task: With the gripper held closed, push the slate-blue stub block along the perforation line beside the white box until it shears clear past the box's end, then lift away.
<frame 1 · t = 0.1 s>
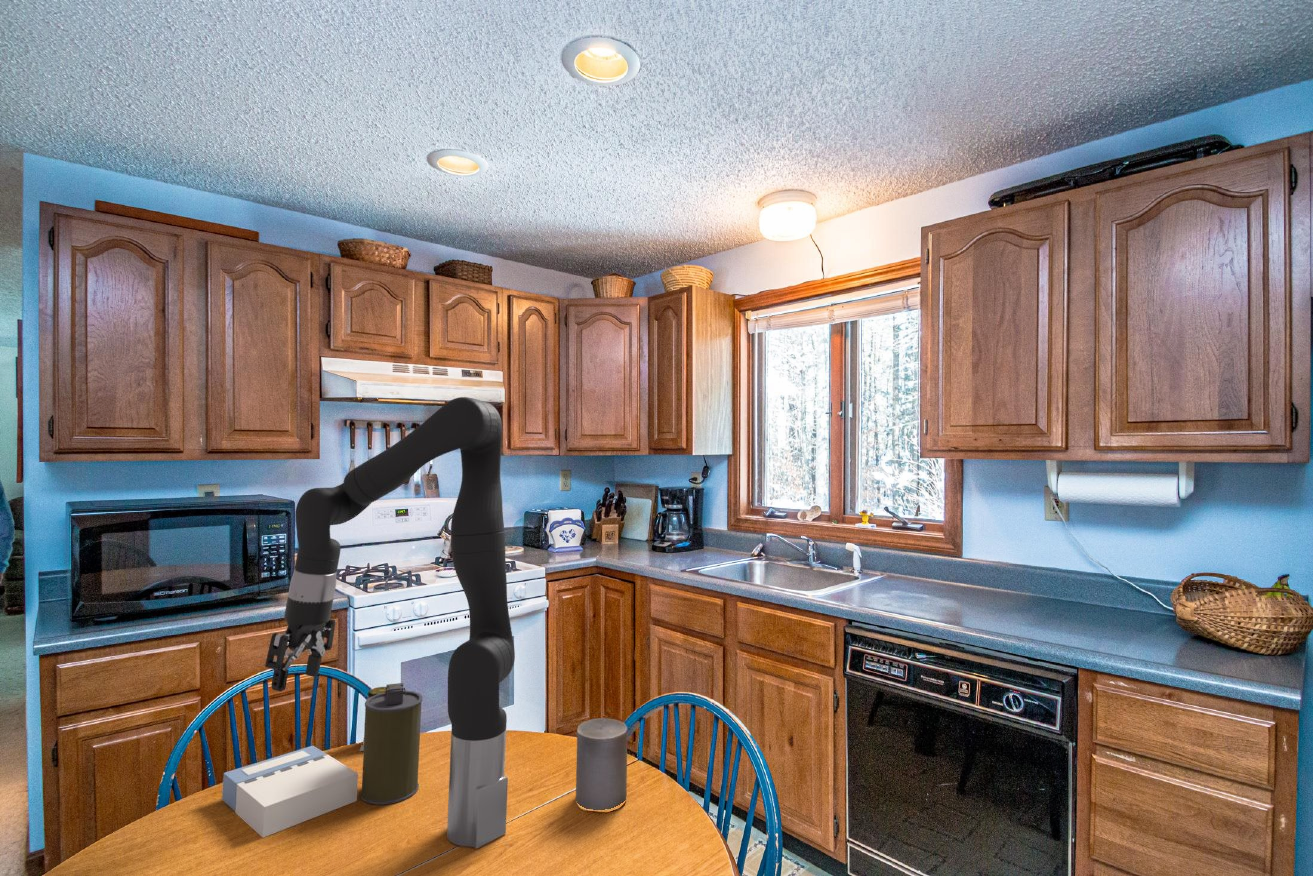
hand: (295, 682, 119), 22 cm above the table, tool pointing down, fingers open, 8 cm apart
pillar candle: (600, 802, 123), on the table
white box: (297, 806, 118), on the table
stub: (276, 775, 124), point 3 cm above the table, slide at 0.0 cm
condiment: (379, 743, 146), on the table
canister: (389, 791, 125), on the table
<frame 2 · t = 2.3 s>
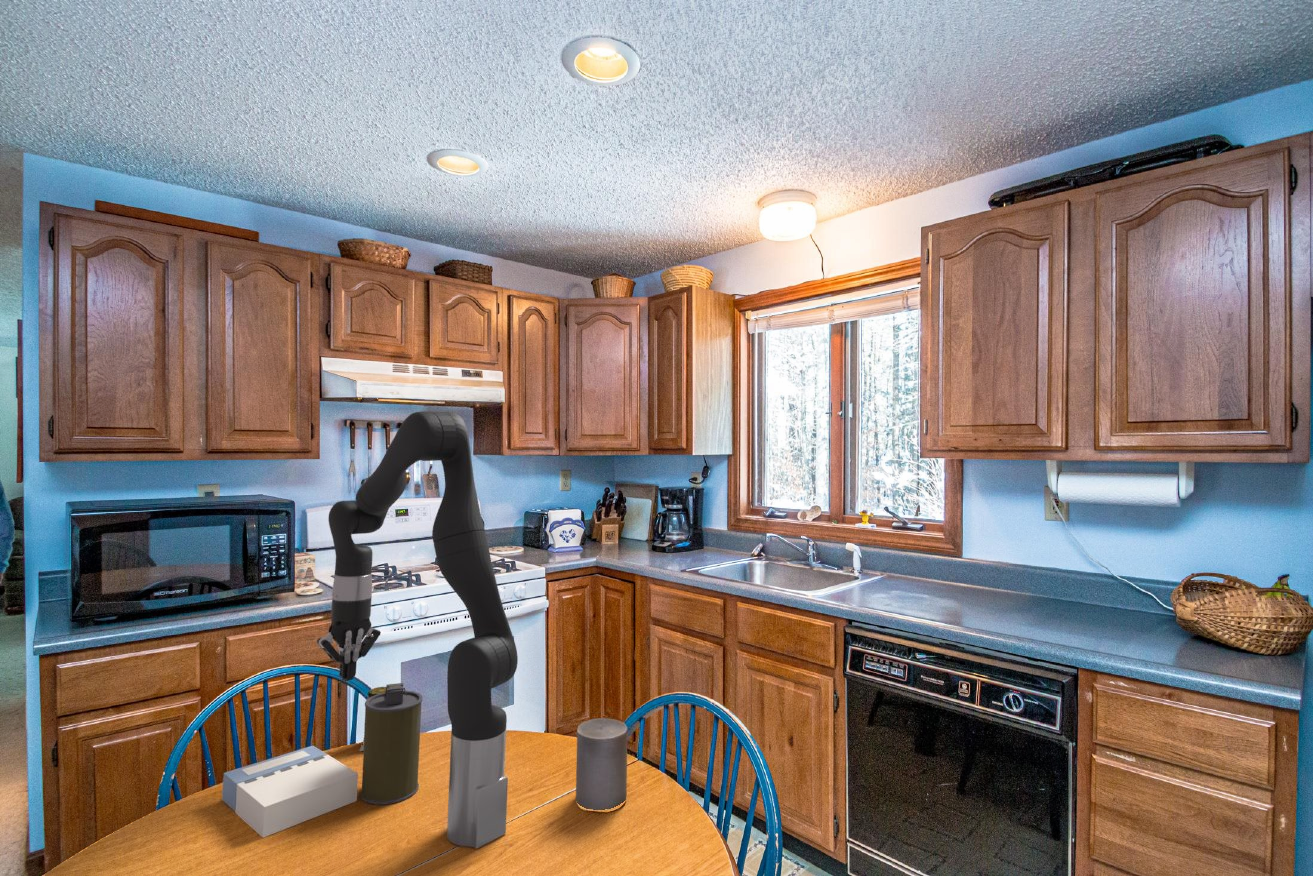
hand: (347, 679, 135), 18 cm above the table, tool pointing down, fingers closed
nothing on the table moved.
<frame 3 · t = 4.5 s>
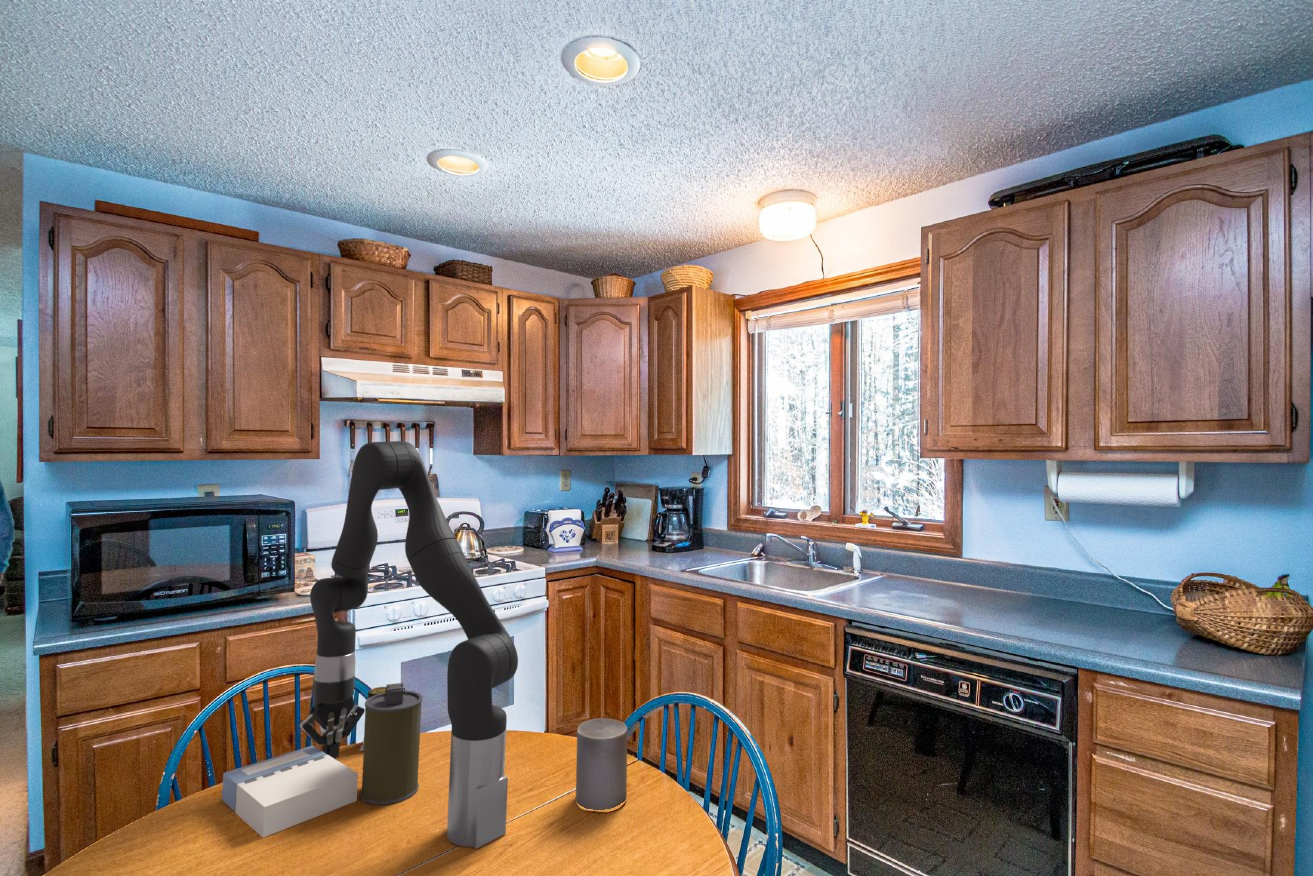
hand: (330, 761, 132), 2 cm above the table, tool pointing down, fingers closed
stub: (276, 775, 124), point 3 cm above the table, slide at 0.1 cm, touching gripper
everything else where it was.
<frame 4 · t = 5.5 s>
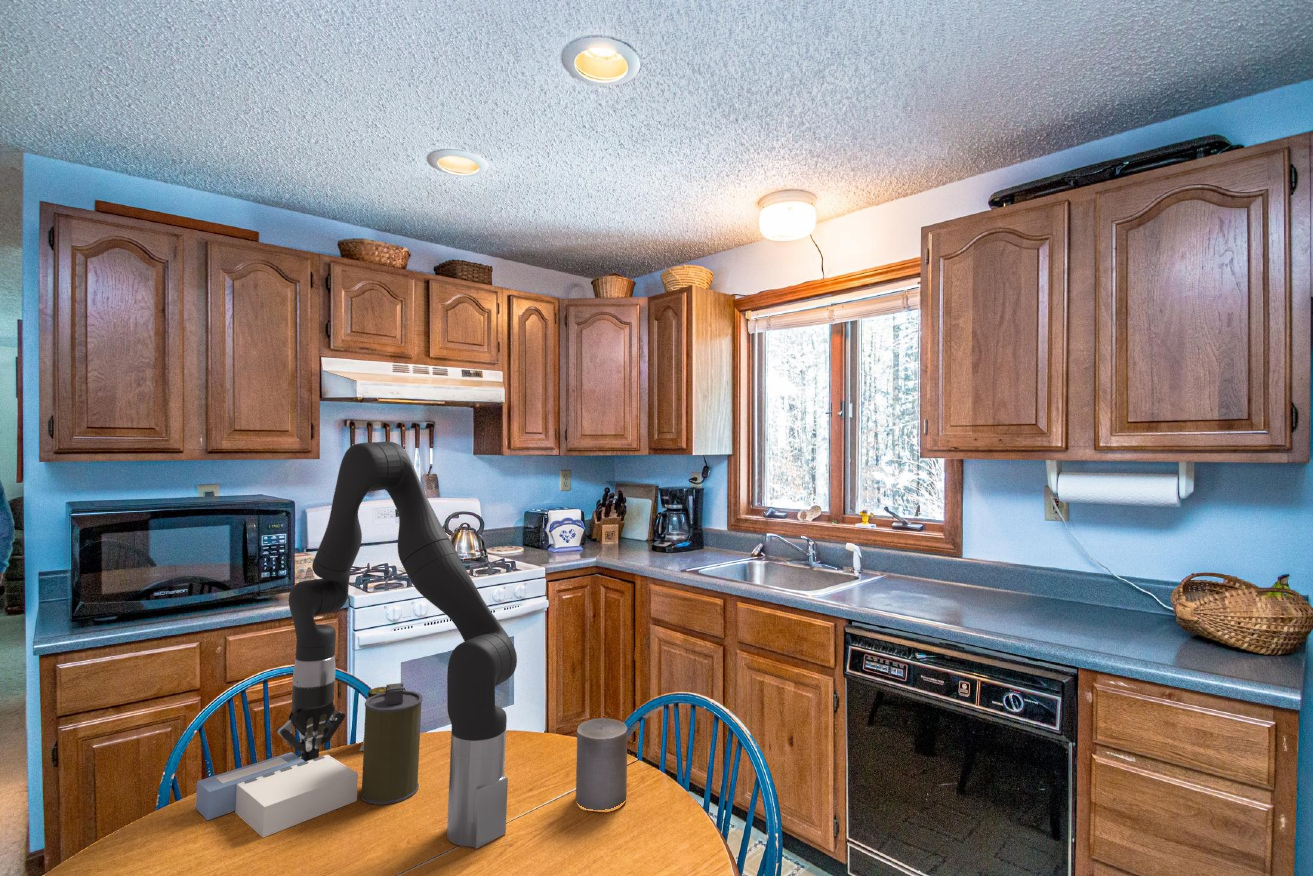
hand: (309, 767, 129), 2 cm above the table, tool pointing down, fingers closed
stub: (252, 783, 121), point 3 cm above the table, slide at 4.2 cm, touching gripper
everything else where it was.
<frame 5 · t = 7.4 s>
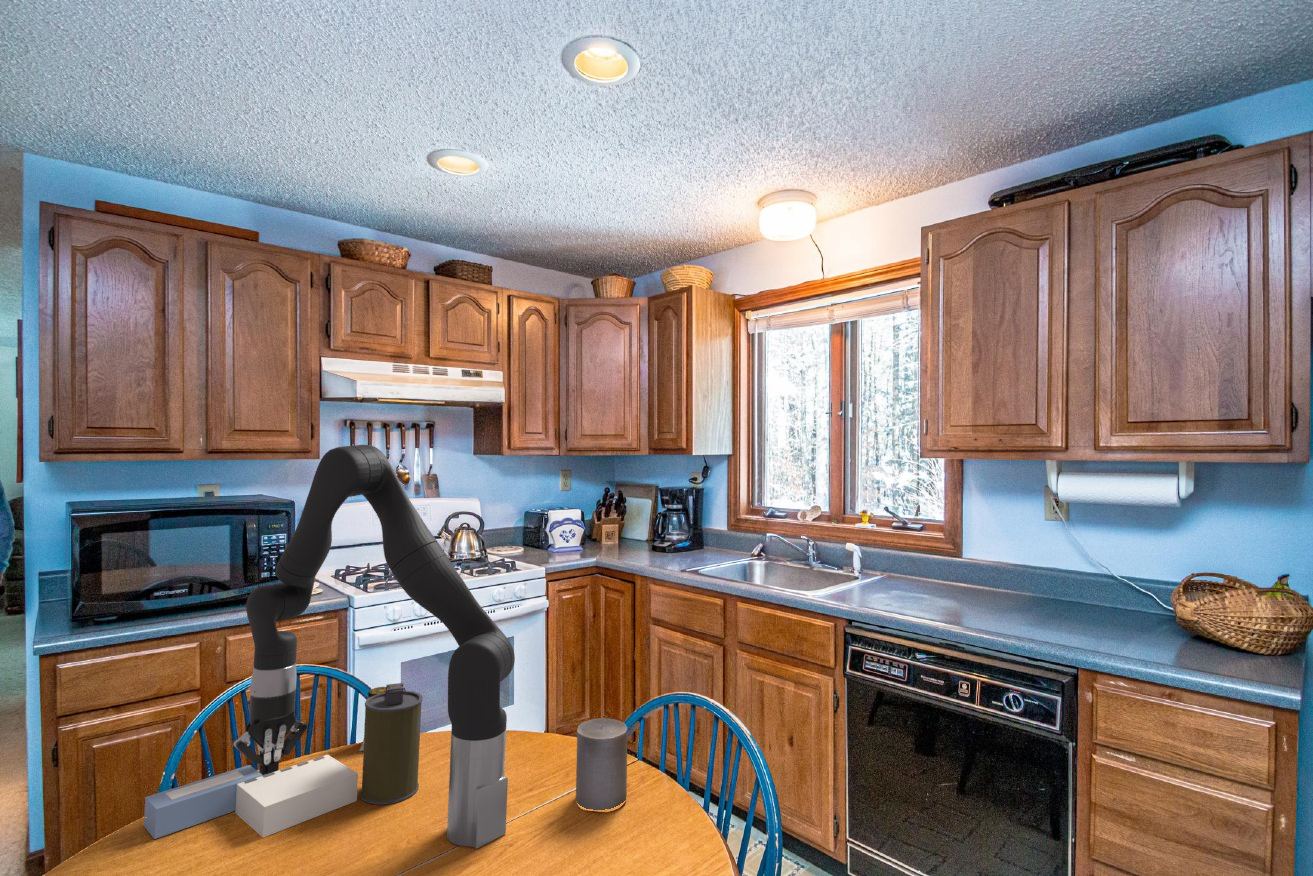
hand: (268, 781, 123), 2 cm above the table, tool pointing down, fingers closed
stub: (205, 799, 115), point 3 cm above the table, slide at 11.7 cm, touching gripper
everything else where it was.
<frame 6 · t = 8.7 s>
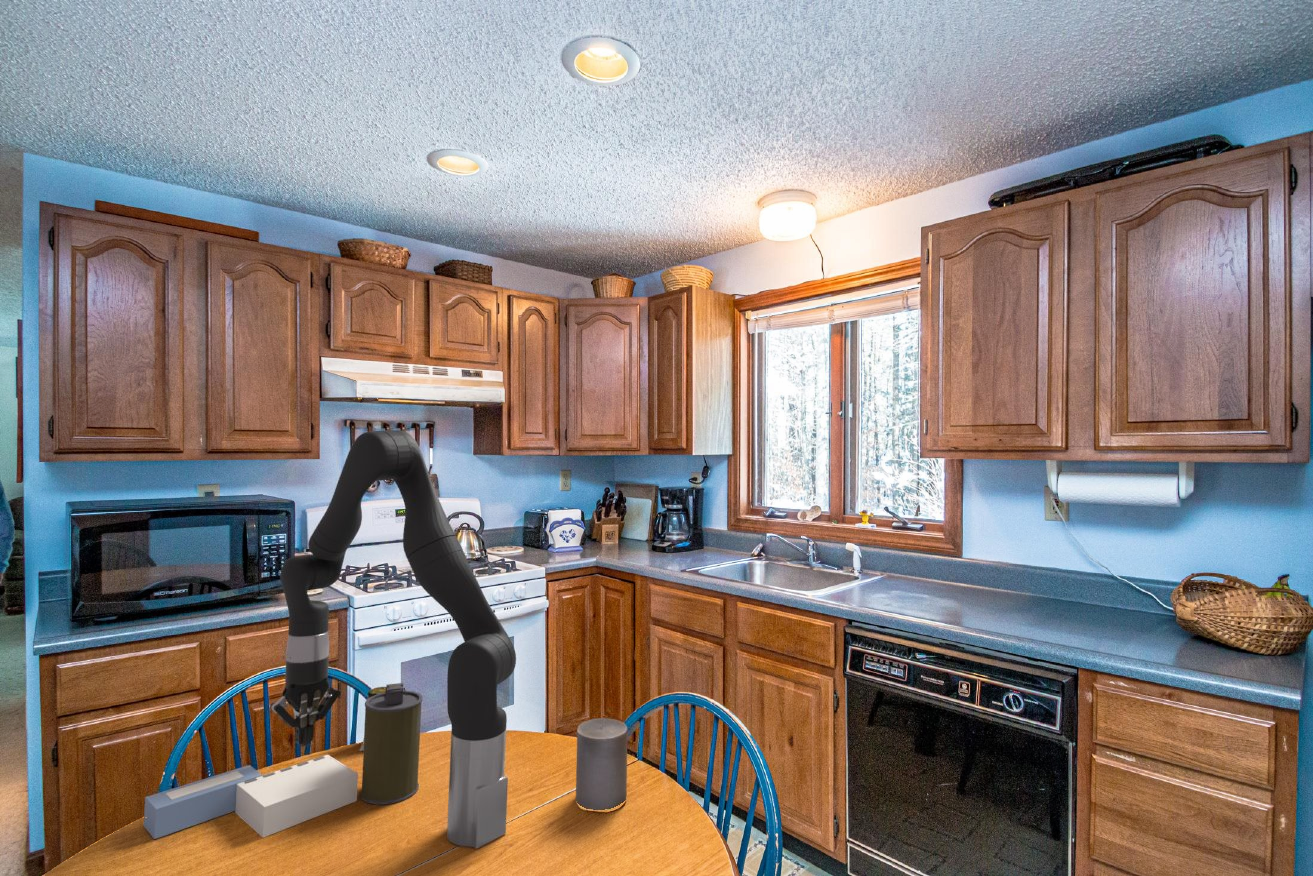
hand: (304, 744, 128), 7 cm above the table, tool pointing down, fingers closed
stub: (205, 799, 115), point 3 cm above the table, slide at 11.7 cm
everything else where it was.
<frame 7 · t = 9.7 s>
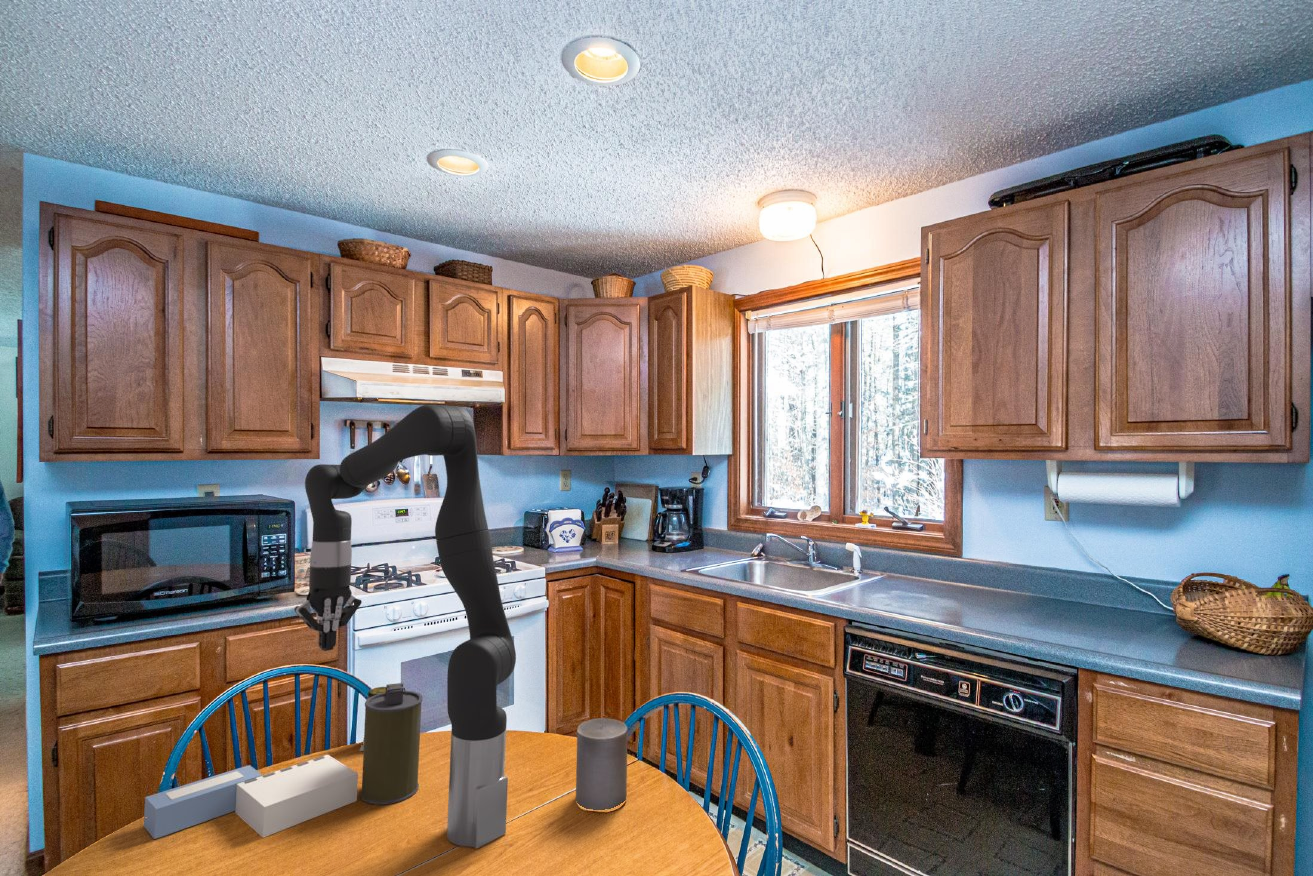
hand: (327, 649, 130), 25 cm above the table, tool pointing down, fingers closed
nothing on the table moved.
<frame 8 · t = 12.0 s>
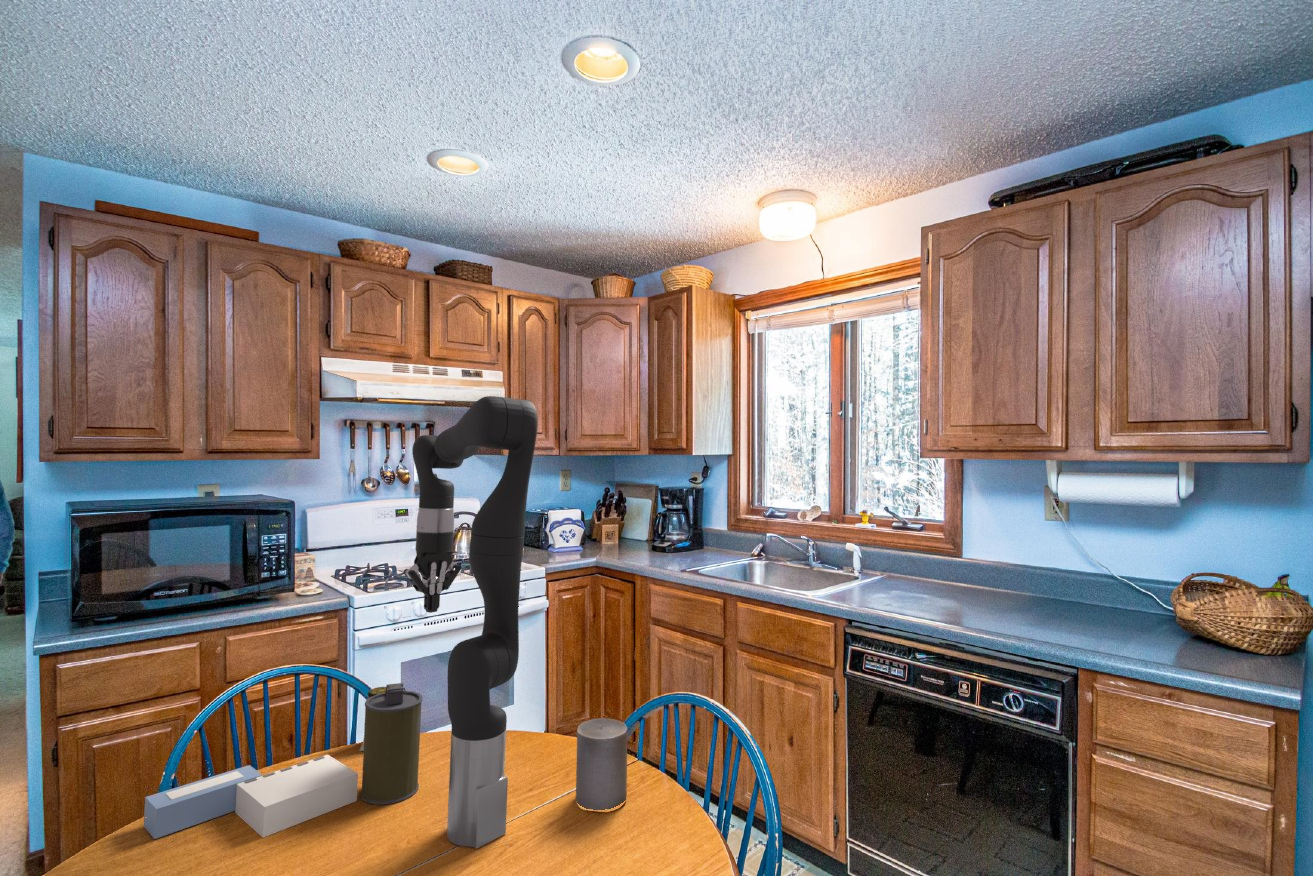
hand: (431, 611, 137), 32 cm above the table, tool pointing down, fingers closed
nothing on the table moved.
at the end: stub slide at 11.7 cm; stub touching nothing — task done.
